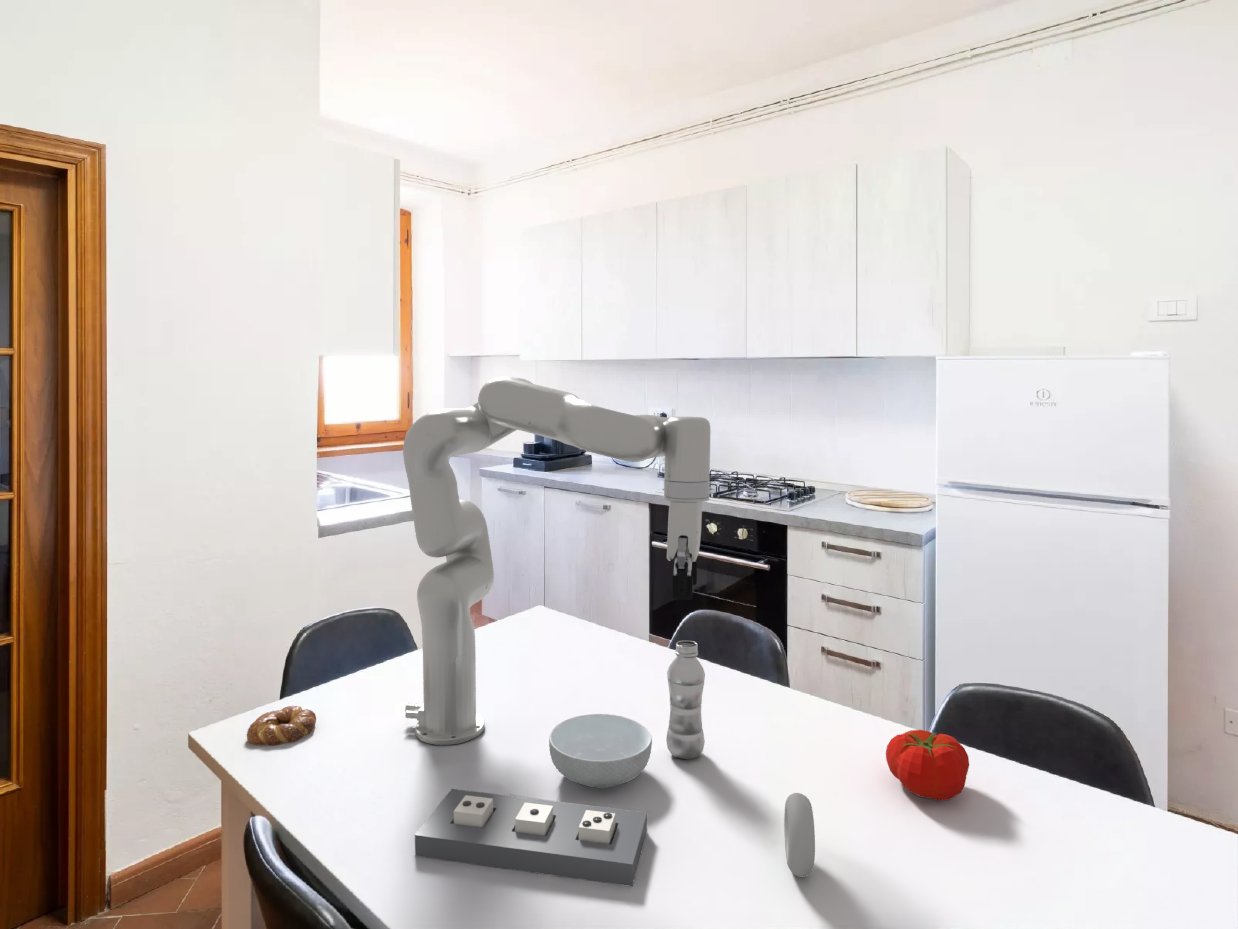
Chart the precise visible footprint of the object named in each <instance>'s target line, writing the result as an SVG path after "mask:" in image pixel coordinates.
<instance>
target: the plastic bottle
mask: <svg viewBox="0 0 1238 929" xmlns="http://www.w3.org/2000/svg"><path fill="white" fill-rule="evenodd" d="M698 646H699V645H698V643H697V642H696V641H693V640H678V641H677V642H676V643H675V651H674V652H675V653H674V654H675V655H676V657H675V658H674V659H673V660H672V662H671V663H670V664H669V666H668V668H667V671H666V672H667V673H666V674H667V676H666V678H667V684H668V691H669V692H668V693H669V711H670V712H669V721H668V727H667V731H666V740H665V741H666V746H667V750H668V751H669V752H670V754H671V756H674V757H675V758H678V759H683V760H684V759H685V760H689V759H690V760H693V759H695V758H696V759H697V758H698V757H700V755H701V754H702V753H703V752H704V748H705V743H706V742H705V734H704V729H703V720H702V719H703V718H702V702H703V691H704V686H705V679H706V672H705V669H704V667H703V665H702V663H701V662H700V661H699V659H698V658H697V656H699V649H698V648H699V647H698Z"/></svg>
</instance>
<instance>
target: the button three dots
mask: <svg viewBox="0 0 1238 929" xmlns="http://www.w3.org/2000/svg"><path fill="white" fill-rule="evenodd" d="M614 832H615V813H607V812H599V811H591V810H586V811H585V814H584V816H583V818H582V821H581V823H580V825H579V840H581V841H589V842H596V843H604V844H611V841H612V838H613V835H614Z"/></svg>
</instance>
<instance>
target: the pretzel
mask: <svg viewBox="0 0 1238 929" xmlns="http://www.w3.org/2000/svg"><path fill="white" fill-rule="evenodd" d="M316 716H317V715H316V713H315V712H314V711H313V710H312V709H311V710H310V709H308V708H306V709H303V708H302V706H299V705H298V706H297V705H291V706H290V705H289V706H286V707H285V706H284V707H283V708H281V709H280V710H278V709H277V710H272V711H269V712H265V713H262V714H261V715H260V716H258V717H257V718H256V720H254V721H253V722H252V723H251V724H250V726H249V727H248V729H247V731H246V737H247V738H246V740H247V741H248V742H249V743H250V744H252V745H255V746H264V745H265V746H266V745H270V746H280V745H282V744H286V743H294V742H295V743H296V742H298V741H299V740H301V739H302V738H303V737H305V736H307V735H310V734H311V733H312V732H313V731H314V730H315V728H316V722H317V717H316Z"/></svg>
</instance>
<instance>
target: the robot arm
mask: <svg viewBox="0 0 1238 929" xmlns="http://www.w3.org/2000/svg"><path fill="white" fill-rule="evenodd" d="M516 431H522V432H524V433H528V434H533V435H536V436H540V437H544V438H547V439H551V440H555V441H558V442H560V443H562V444H565V445H569V446H573V447H574V448H578V449H580V450H583V451H586V452H589V453H592V454H597V455H600V456H603V457H608V458H612V459H615V460H619V461H623V462H627V463H628V462H629V463H640V462H643V461H646V460H648V459H653V458H660V457H664V476H663V478H664V483H663V487H664V488H663V500H665V501H668V502H669V506H668V519H667V520H668V521H667V542H666V543H667V546H666V559H667V560H668V561H669V562H670V561H672V560H674V565H673V574H672V590H671V591H672V599H673V600H678V601H681V600H682V601H683V600H684V601H692V600H693V586H695V585H697V581H698V576H697V575H698V562H697V558H698V556H699V551H700V547H701V536H702V517H703V516H702V515H703V503H704V502H708V501H710V483H711V482H710V471H711V470H710V468H711V466H710V465H711V424H710V421H709V420H708V419H707V418H706V417H702V416H673V417H665V416H658V415H652V414H635V415H633V414H629V413H624V412H621V411H617V410H612V409H609V408H605V407H600V406H597V405H594V404H591V403H589V402H586V401H584V400H582V399H581V398H579V396H578V395H576V394H575V393H572V392H568V391H566V390H565V391H564V390H560V389H555V388H551V387H547V386H543V385H539V384H536V383H533V382H532V381H529V380H527V379H525V378H521V377H511V376H499V377H494V378H491V379H489V380H487V382H485V383H484V384H483V385H482V387H481V389H480V390H479V393H478V397H477V402H476V403H474V404H473V405H470V406H469V407H466V408H464V407H462V408H457V407H452V408H451V407H450V408H448V407H447V408H441V409H436V410H432V411H430V412H427V413H426V414H424V415H422V416H420V417H419V418H418V419H416V421H415V422H413V423H412V425H411V426H410V428H409V429H408V431H407V433H406V434H405V438H404V441H403V446H402V447H403V448H402V456H403V462H404V463H403V464H404V469H405V472H406V478H407V481H408V482H407V483H408V487H409V496H410V498H409V499H410V504H411V510H412V518H413V519H412V520H413V525H414V533H415V538H416V541H417V544H418V547H419V549H420V551H421V552H422V553H423V554H425V555H426V556H428V557H431V558H444V557H445V560H446V561H445V562H443V563H441V564H439V565H436V566H435V567H433V568H431V569H430V570H428V572H426V573H425V574H424V575H423V577H422V578H421V580H420V582H419V584H418V586H417V592H416V602H417V607H418V612H419V616H420V624H421V635H422V638H421V639H422V674H423V675H422V680H423V682H422V687H423V688H422V689H423V703H422V704H419V703H416V702H407V703H406V705H405V708H404V709H405V714H404V716H405V719H415V720H416V721H418V722H417V723H416V724H415V730H414V732H415V736H416V737H417V739H418V740H420V741H422V742H423V743H427V744H430V745H438V746H448V745H450V746H451V745H458V744H461V743H465V742H468V741H471V740H473V739H475V738H477V737H479V736H480V735H481V734H482V733H483V732H484V729H485V718H483V716H482V715H480V714H478V713H477V690H476V689H477V687H476V686H477V683H476V679H477V677H476V675H477V674H476V671H477V670H476V666H477V665H476V660H477V659H476V658H477V657H476V631H475V625H474V622H473V620H472V614H471V607H472V606H473V605H476V603H479V602H480V601H482V600H483V599H484V598H486V596H487V595H489V593H490V591H491V590H492V588H493V584H494V579H495V578H494V575H495V574H494V565H493V557H492V550H491V544H490V537H489V530H488V525H487V521H486V517H485V516H484V514H483V512H482V509H480V507H479V506H478V505H476V504H475V503H473V502H471V501H470V500H467V499H460V496H459V490H458V482H457V477H456V475H455V473H454V470H453V468H452V466H451V464H450V458H452V457H453V456H459V455H465V454H473V453H477V452H480V451H482V450H484V449H487V448H489V447H490V446H492V445H494V444H496V443H497V442H499V441H501V440H503V439H504V438H505V437H507V436H509V435H511V434H512V433H514V432H516Z"/></svg>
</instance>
